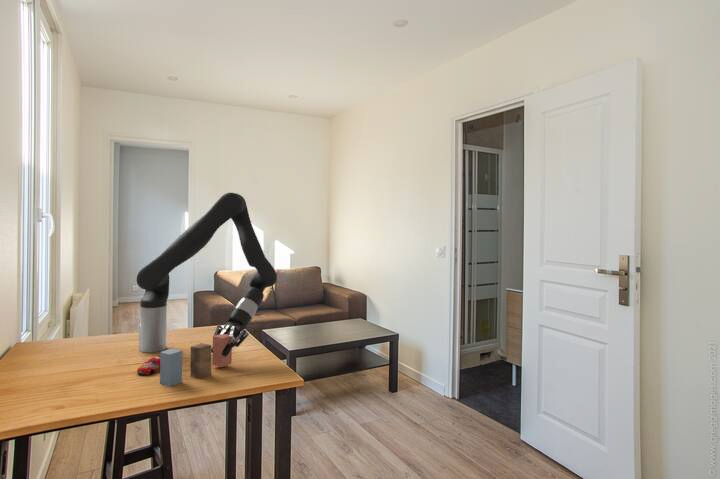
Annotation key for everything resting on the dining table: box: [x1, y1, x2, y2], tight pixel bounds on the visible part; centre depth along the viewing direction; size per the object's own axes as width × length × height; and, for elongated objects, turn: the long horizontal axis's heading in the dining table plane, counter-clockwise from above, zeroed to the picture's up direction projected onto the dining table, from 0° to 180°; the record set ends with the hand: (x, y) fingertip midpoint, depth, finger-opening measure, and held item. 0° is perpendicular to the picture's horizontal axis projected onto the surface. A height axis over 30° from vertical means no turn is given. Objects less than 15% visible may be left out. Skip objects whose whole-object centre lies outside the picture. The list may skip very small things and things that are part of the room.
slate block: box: [159, 348, 183, 387], centre depth 132 cm, size 4×4×10 cm
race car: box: [136, 355, 160, 376], centre depth 144 cm, size 13×5×4 cm, turn 164°
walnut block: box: [189, 342, 212, 380], centre depth 139 cm, size 4×4×10 cm
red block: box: [211, 334, 233, 368], centre depth 147 cm, size 4×4×10 cm
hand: (218, 353), depth 146 cm, fingers closed on red block, 4 cm apart
